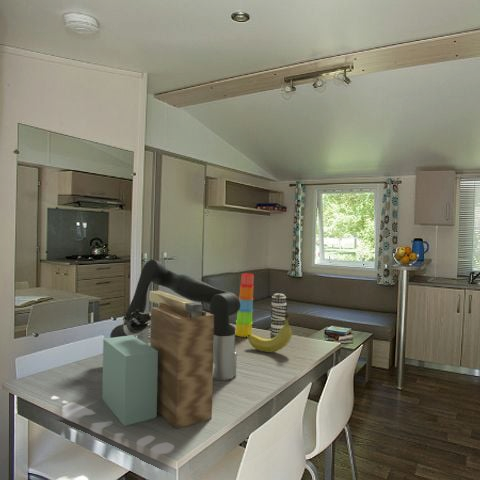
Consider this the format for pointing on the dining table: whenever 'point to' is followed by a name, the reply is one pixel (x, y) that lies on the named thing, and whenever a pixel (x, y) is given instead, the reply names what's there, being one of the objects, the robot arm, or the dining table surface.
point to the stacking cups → (245, 306)
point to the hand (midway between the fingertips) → (149, 310)
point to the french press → (146, 334)
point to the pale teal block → (130, 379)
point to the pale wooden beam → (176, 303)
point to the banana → (273, 343)
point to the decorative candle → (277, 313)
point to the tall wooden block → (183, 364)
